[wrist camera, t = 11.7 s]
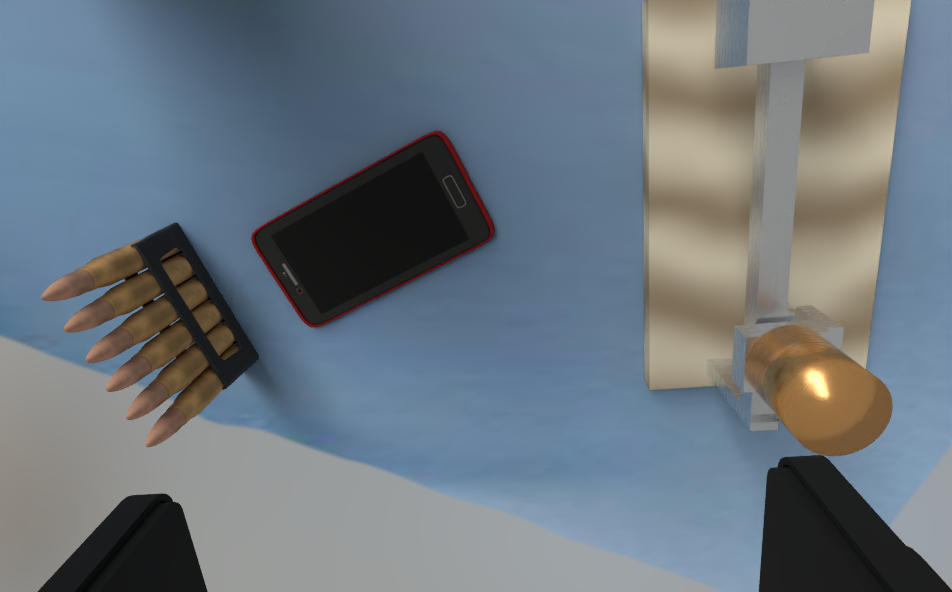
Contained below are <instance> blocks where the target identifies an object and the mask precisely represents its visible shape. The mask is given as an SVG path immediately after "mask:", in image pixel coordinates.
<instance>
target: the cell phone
mask: <svg viewBox="0 0 952 592" xmlns="http://www.w3.org/2000/svg"><path fill="white" fill-rule="evenodd" d="M490 232H491V233H490ZM493 235H494V225H493V222H492V220H491V218H490V215H489V213H488V212H487V210H486V208H485V206H484V204H483V202H482V200H481V198H480V196H479V194H478V193H477V192H476V190H475V188H474V186H473V184H472V182H471V180H470V178H469V177H468V173H467V171H466V170H465V168H464V166H463V164H462V162H461V160H460V158H459V156H458V154H457V152H456V151H455V149H454V147H453V145H452V143H451V142H450V140H449V139H448V137H447V136H446V135H445V134H444V133H442V132H441V131H434V132H432V133H429V134H427V135H424V136H422V137H421V138H419V139H417V140H415V141H413V142H411V143H410V144H408V145H406V146H404V147H402V148H401V149H399V150H397V151H395V152H393V153H392V154H390V155H388V156H386V157H384V158H383V159H381V160H379V161H377V162H375V163H374V164H372V165H370V166H368V167H366V168H364V169H363V170H361V171H359V172H357V173H355V174H354V175H352V176H350V177H348V178H346V179H345V180H343V181H341V182H339V183H337V184H336V185H334V186H332V187H330V188H328V189H327V190H325V191H323V192H321V193H319V194H318V195H316V196H314V197H312V198H310V199H308V200H307V201H305V202H303V203H301V204H300V205H298V206H296V207H294V208H292V209H291V210H289V211H287V212H285V213H283V214H282V215H280V216H278V217H276V218H275V219H273V220H271V221H269V222H267V223H266V224H264V225H263V226H261V227H260V228H258V229H257V230H256V231H255V232H254V233H253V234H252V236H251V239H252V243H253V246H254V248H255V249H256V251H257V253H258V254H259V256H260V257H261V259H262V261H263V262H264V264H265V265H266V267H267V268H268V270H269V271H270V273H271V274H272V276H273V277H274V279H275V280H276V282H277V283H278V285H279V286H280V288H281V289H282V291H283V292H284V294H285V296H286V297H287V299H288V300H289V302H290V303H291V305H292V306H293V308H294V309H295V311H296V312H297V314H298V315H299V317H300V318H301V319H302V321H303V322H304V323H305V324H306V325H308V326H310V327H318V326H321V325H324V324H326V323H328V322H330V321H333V320H335V319H336V318H338V317H340V316H342V315H344V314H346V313H348V312H350V311H352V310H354V309H356V308H358V307H360V306H362V305H364V304H366V303H368V302H370V301H372V300H374V299H376V298H378V297H380V296H382V295H384V294H386V293H388V292H390V291H392V290H394V289H396V288H398V287H400V286H402V285H404V284H406V283H408V282H410V281H412V280H414V279H416V278H418V277H420V276H422V275H424V274H426V273H428V272H430V271H432V270H434V269H436V268H437V267H439V266H441V265H443V264H445V263H447V262H449V261H451V260H453V259H455V258H457V257H459V256H461V255H463V254H465V253H467V252H469V251H471V250H473V249H475V248H477V247H479V246H481V245H482V244H484V243H486V242H487V241H489V240H490V239H491V238H492V237H493ZM368 300H369V301H368ZM366 301H367V302H366ZM364 302H365V303H364ZM362 303H363V304H362ZM360 304H361V305H360ZM358 305H359V306H358ZM356 306H357V307H356ZM354 307H355V308H354ZM352 308H353V309H352ZM350 309H351V310H350ZM348 310H349V311H348ZM346 311H347V312H346ZM344 312H345V313H344ZM342 313H343V314H342Z"/></svg>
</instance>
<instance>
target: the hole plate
mask: <svg viewBox="0 0 952 592" xmlns="http://www.w3.org/2000/svg"><path fill="white" fill-rule="evenodd" d="M910 5H911V0H875V2H874V11H873V20H872V30H871V39H870V49H869V53H864V54H855V55H846V56H837V57H828V58H819V59H809V60H806V61H805V75H804V88H803V101H802V115H801V128H800V142H799V155H798V168H797V182H796V195H795V208H794V222H793V235H792V249H791V262H790V275H789V289H788V302H789V303H791V304H792V305H794V306H795V307H796V306H806V305H812V306H814V307H815V308H816V309H818V310H819V311H821V312H822V313H824V314H825V315H827V316H828V317H830V318H831V319H833V320H834V321H836V322H837V323H839V324H840V325H842V326H843V327H844V332H843V341H842V350H841V351H842V352H843V353H845V354H846V355H847V356H849V357H850V358H851V359H853V360H854V361H855V362H857V363H858V364H859V365H861V366H862V367H863V368H865V369H866V362H867V354H868V346H869V338H870V330H871V322H872V313H873V305H874V297H875V289H876V281H877V273H878V265H879V257H880V249H881V240H882V232H883V224H884V216H885V208H886V200H887V192H888V184H889V176H890V168H891V159H892V151H893V143H894V135H895V127H896V119H897V111H898V103H899V95H900V86H901V78H902V70H903V62H904V54H905V46H906V38H907V30H908V22H909V14H910ZM715 34H716V0H646V1H644V2H643V3H642V56H643V215H644V375H645V382H646V384H647V386H648V388H649V390H661V389H676V388H691V387H706V386H716V385H715V384H714V382H713V381H712V379H711V378H710V377H709V375H708V374H707V359H719V358H731V359H732V360H733V338H734V325H744V321H745V302H746V282H747V262H748V243H749V223H750V204H751V184H752V164H753V145H754V125H755V105H756V86H757V66H758V65H749V66H739V67H730V68H720V69H714V68H715Z"/></svg>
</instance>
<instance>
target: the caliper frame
mask: <svg viewBox="0 0 952 592" xmlns="http://www.w3.org/2000/svg"><path fill="white" fill-rule="evenodd" d="M874 2H875V0H716V34H715V68H714V69H720V68H730V67H739V66H749V65H758V66H757V86H756V105H755V125H754V145H753V164H752V184H751V204H750V223H749V243H748V262H747V282H746V302H745V321H744V325H747V324H761V323H774V322H786V316H787V302H788V289H789V275H790V262H791V249H792V235H793V222H794V208H795V195H796V182H797V168H798V155H799V142H800V128H801V115H802V101H803V88H804V75H805V61H806V60H809V59H819V58H828V57H837V56H846V55H855V54H864V53H869V49H870V39H871V30H872V20H873V11H874ZM707 374H708V375H709V377H710V378H711V379H712V381H713V382H714V384H715V385H716V386H717V388H718V389H719V390H720V392H721V393H722V394H723V396H724V397H725V398H726V400H727V401H728V402H729V404H730V405H731V406H732V408H733V409H734V410H735V412H736V413H737V415H738V416H739V417H740V419H741V420H742V421H743V423H744V424H745V425H746V427H747V428H748V429H749V431H763V430H778V423H779V418H778V416H777V415H776V414H775V413H774V412H773V411H772V409H771V408H770V407H769V406H768V405H767V404H766V402H765V401H764V400H763V399H762V398H761V397H760V395H759V394H758V393H757V392H744V393H743V391H742V390H741V389H740V388H739V387H738V385H737V384H736V383H735V382H734V380H733V379H732V359H731V358H719V359H707Z"/></svg>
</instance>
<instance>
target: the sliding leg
mask: <svg viewBox="0 0 952 592" xmlns="http://www.w3.org/2000/svg"><path fill="white" fill-rule="evenodd" d="M843 332H844V327H843V326H842V325H840V324H839V323H837V322H836V321H834V320H833V319H831V318H830V317H828V316H827V315H825V314H824V313H822V312H821V311H819V310H818V309H816V308H815V307H814V306H812V305H806V306H796V307H795V306H794V305H792V304H791V303H789V302H787V316H786V322H774V323H761V324H747V325H734V338H733V360H732V379H733V380H734V382H735V383H736V384H737V385H738V387H739V388H740V389H741V390H742V391H743V393H744V392H757V393H758V394H759V395H760V397H761V398H762V399H763V400H764V401H765V402H766V404H767V405H768V406H769V407H770V408H771V409H772V411H773V412H774V413H775V414H776V415H777V416H778V418H779V419H780V420H781V421H782V422H783V423H784V424H785V426H786V427H787V428H788V429H789V430H790V431H791V433H792V434H793V435H794V436H795V437H796V438H797V440H798V441H799V442H800V443H801V444H802V445H803V446H804V447H806V448H807V449H809V450H810V451H812V452H815V453H817V454H821V455H827V456H841V455H847V454H851V453H854V452H857V451H859V450H861V449H863V448H865V447H867V446H868V445H870V444H871V443H872V442H874V441H875V440H876V439H877V438H878V437H879V436H880V435H881V434H882V433H883V431H884V430H885V428H886V427H887V425H888V423H889V420H890V418H891V414H892V398H891V395H890V392H889V390H888V389H887V387H886V386H885V384H884V383H883V382H882V381H881V380H879V379H878V378H877V377H875V376H874V375H873V374H871V373H870V372H869V371H867V370H866V369H865V368H863V367H862V366H861V365H859V364H858V363H857V362H855V361H854V360H853V359H851V358H850V357H849V356H847V355H846V354H845V353H843V352H842V351H841V350H842V341H843Z"/></svg>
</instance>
